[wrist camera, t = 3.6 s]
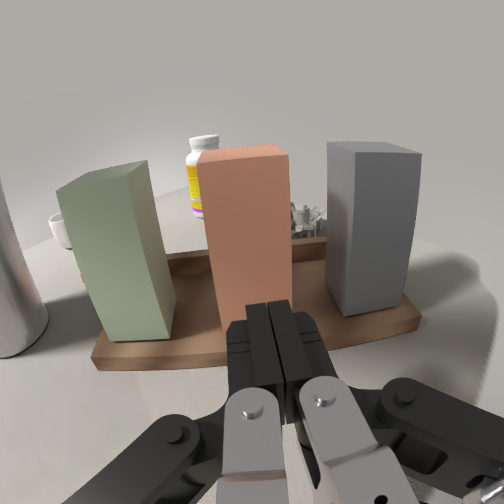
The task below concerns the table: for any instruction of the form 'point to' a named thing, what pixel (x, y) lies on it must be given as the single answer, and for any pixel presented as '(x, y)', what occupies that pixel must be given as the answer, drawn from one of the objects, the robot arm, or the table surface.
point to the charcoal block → (369, 223)
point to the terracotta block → (247, 226)
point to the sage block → (120, 250)
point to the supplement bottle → (197, 147)
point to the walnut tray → (209, 323)
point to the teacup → (59, 230)
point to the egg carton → (305, 221)
